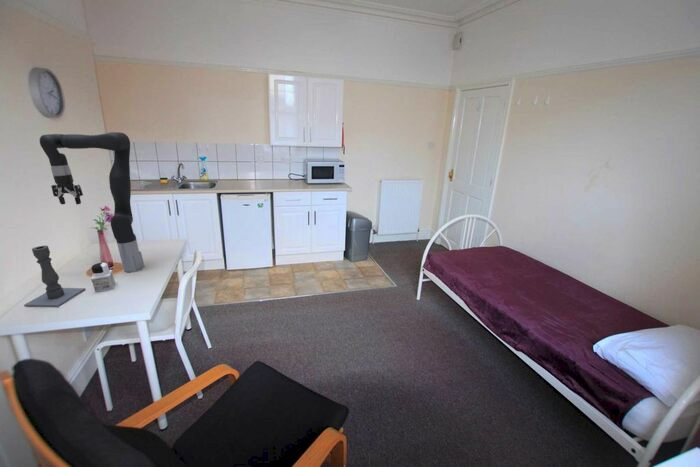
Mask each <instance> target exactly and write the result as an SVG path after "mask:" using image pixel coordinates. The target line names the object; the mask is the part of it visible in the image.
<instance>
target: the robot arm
mask: <svg viewBox="0 0 700 467" xmlns="http://www.w3.org/2000/svg"><path fill="white" fill-rule="evenodd" d="M39 145H40V147H41V148H42V150H43V152H44V153H45V155H46V157H47V158H48V160H49V165H50V170H51V174H52V177H53V181H54V183H55V184H52V185H51V190H52V195H53V197H57V198H58V201H59V203H60V205H65V204H66V201H65V200H66V199H65V197H64V195H65V194H70V195H71V196H73V197H74V202H75V204H76V205H81V203H82V200H81V197H83V196H84V193H83V191H82V190H83V189H82V187H81V185H80V184H76V185H75V184H74V178H73V177H74V176H73V174H72V171H71V168H70V166H69V163H68V158H67V157H66V154H64V153H60V151H59V149H70V150H71V149H73V150H75V149H77V150H82V149H84V150H85V149H101V150H107V151H112V152H113V155H114V159H113V164H112V166H111V168H110V172H109V176H108V178H109V179H108V180H109V190H110V193H111V196H112V199H113V202H114V210H113V211H114V213H113V216H112V217H111V218H110V220H109V222H110V227H111V230H112V234H113V237H114V239H115V240H116V245H117V248H118V252H119V257H120V260H121V264H122V269H123V272H125V273H132V272H133V273H134V272H138V271H140V270H142V269H143V268H144V267H145V263H144V259H143V254H142V252H141V250H139V244H138V241H137V240H138V239H137V235H136V234H135V233H134V230H133V226H132V225H133V222H134V217H133V212H132V206H131V197H132V196H131V195H132V194H131V193H132V192H131V189H132V188H131V187H132V185H131V184H132V183H131V174H130V172H131V171H130V170H131V169H130V168H131V167H130V156H131V155H130V154H131V140H130V137H129V136H128V135H127V134H126V133H123V132H119V131H118V132H117V131H116V132H114V131H112V132H106V133H102V134H101V133H100V134H95V135H94V134H91V135H89V134H77V133H75V134H72V133H71V134H70V133H69V134H62V133H50V134H49V133H48V134H43V135H41V136H40V137H39Z"/></svg>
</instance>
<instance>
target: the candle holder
mask: <svg viewBox="0 0 700 467" xmlns="http://www.w3.org/2000/svg"><path fill="white" fill-rule="evenodd" d="M31 251H32V254H33V257H35V259H37V260H36V263H37V264H38V265H39V266H40V269H41V282H42V283H43V284H44V285H45V286H46V287H45V290H46V291H45V293H46V294H47V297H48V299H56V298H60V297H62V296H64V291H63V288H64V287H63V286H62V284H60V283H59V279H60V277H59V274H58V273H57V272H56V270H55V269H54V267H53V265H52V263H51V262H52V258H51V257H50V255H51V251H50V247H49V245H40V246H35V247H32V248H31Z"/></svg>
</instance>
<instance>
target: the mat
mask: <svg viewBox="0 0 700 467" xmlns="http://www.w3.org/2000/svg"><path fill="white" fill-rule="evenodd" d="M62 288H63V291H64V296H62V297H60V298H56V299H48V297H47V294H46V292H45V293H43V294H41V295H39V296H37V297H35V298H33V299H32V300H30V301H28V302H26V303H25V304H23V306H24V307H25V306H27V308H28V307H29V308H30V307H31V308H35V307H36V308H60V306H62V305H65V304H66V303H68V302H70V301H71V300H72V299H74V298H75V297H77V296H79V295H81V294H82V293H83V292H85V291H86V288H84V287H82V288H81V287H80V288H79V287H78V288H77V287H62Z"/></svg>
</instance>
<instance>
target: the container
mask: <svg viewBox="0 0 700 467" xmlns="http://www.w3.org/2000/svg"><path fill="white" fill-rule="evenodd" d="M91 271H92V276H91V279H90V280H91V283H92V287H93V290H94V292H95V293H98V292H99V293H100V292H104V291H109V290H113V289H114V287H115V284H116V280H115V276H114V272H113V270H112V269H109V266H108V263H107V262H97V263H95V264H93V265H92V266H91Z"/></svg>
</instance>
